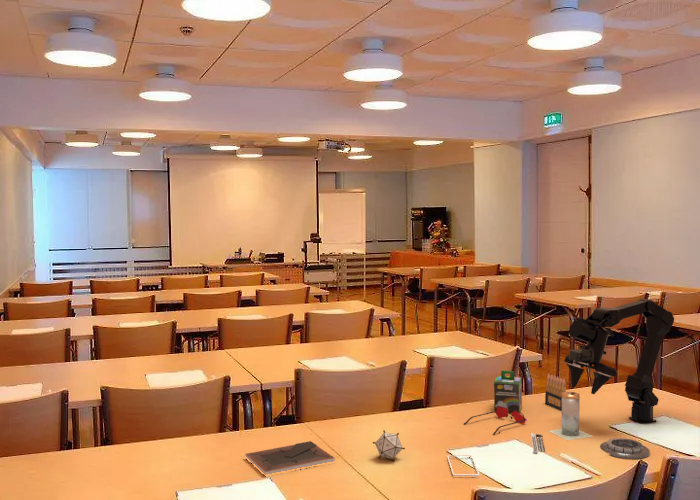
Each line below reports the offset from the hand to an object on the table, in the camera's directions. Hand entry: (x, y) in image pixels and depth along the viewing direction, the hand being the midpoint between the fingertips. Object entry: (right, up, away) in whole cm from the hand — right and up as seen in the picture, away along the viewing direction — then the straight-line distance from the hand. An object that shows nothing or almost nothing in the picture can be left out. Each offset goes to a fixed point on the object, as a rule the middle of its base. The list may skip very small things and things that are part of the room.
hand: (582, 390), depth 228 cm
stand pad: (-5, -14, -4) cm, 15 cm away
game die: (-65, -16, -23) cm, 71 cm away
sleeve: (-5, -13, -4) cm, 15 cm away
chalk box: (-19, -12, +25) cm, 34 cm away
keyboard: (-17, -15, -12) cm, 26 cm away
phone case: (-45, -16, -31) cm, 56 cm away
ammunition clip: (-1, -12, +27) cm, 30 cm away
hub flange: (+6, -15, -19) cm, 25 cm away
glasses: (-27, -14, +7) cm, 32 cm away
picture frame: (-95, -17, -24) cm, 99 cm away
